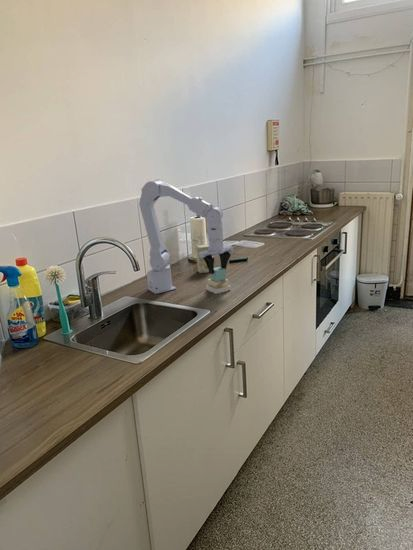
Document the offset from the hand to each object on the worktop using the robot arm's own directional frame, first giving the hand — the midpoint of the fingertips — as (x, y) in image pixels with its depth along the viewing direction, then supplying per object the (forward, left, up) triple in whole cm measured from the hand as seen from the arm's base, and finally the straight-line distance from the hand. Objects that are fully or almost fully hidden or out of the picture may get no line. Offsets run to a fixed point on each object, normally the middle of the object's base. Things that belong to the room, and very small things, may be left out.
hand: (217, 272), depth 165 cm
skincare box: (+9, +26, -8) cm, 29 cm away
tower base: (0, 0, -8) cm, 8 cm away
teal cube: (0, 0, -3) cm, 3 cm away
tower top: (0, 0, -6) cm, 6 cm away
